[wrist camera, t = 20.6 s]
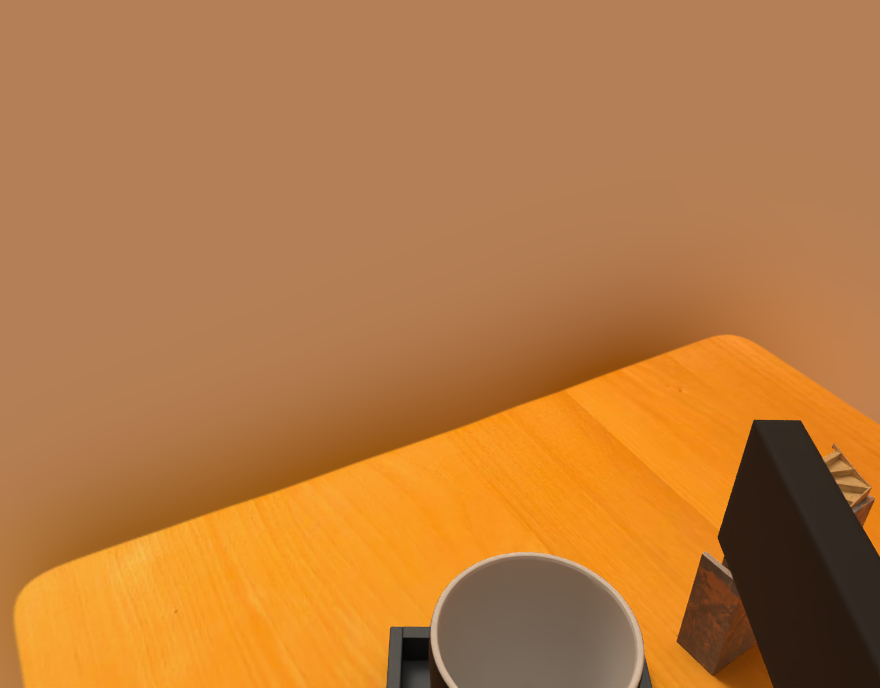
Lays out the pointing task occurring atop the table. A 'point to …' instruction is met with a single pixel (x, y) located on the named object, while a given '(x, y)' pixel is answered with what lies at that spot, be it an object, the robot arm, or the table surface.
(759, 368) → the table surface
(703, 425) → the table surface
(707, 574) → the architectural model on board
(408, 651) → the tray
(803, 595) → the robot arm
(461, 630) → the mug
